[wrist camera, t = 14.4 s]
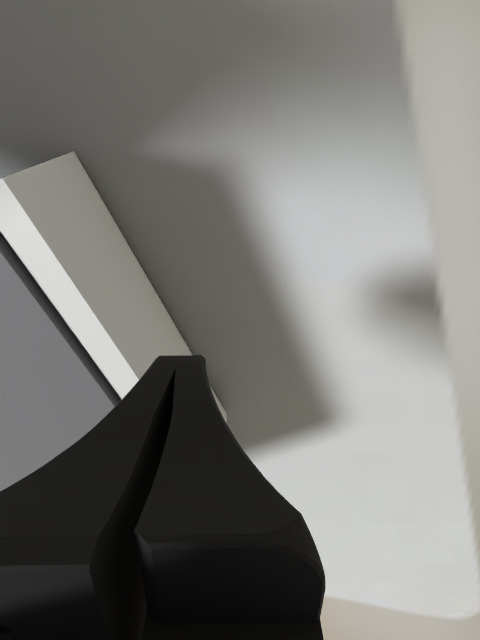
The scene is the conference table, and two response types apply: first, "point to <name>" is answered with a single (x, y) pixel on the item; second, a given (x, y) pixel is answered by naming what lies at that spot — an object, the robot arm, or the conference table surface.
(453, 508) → the conference table surface
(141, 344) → the tray
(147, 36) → the conference table surface
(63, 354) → the housing
